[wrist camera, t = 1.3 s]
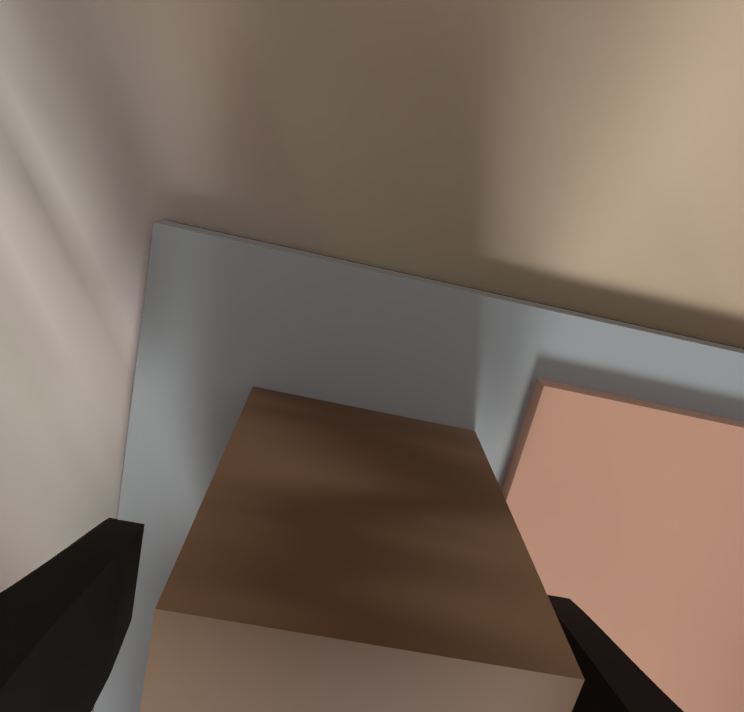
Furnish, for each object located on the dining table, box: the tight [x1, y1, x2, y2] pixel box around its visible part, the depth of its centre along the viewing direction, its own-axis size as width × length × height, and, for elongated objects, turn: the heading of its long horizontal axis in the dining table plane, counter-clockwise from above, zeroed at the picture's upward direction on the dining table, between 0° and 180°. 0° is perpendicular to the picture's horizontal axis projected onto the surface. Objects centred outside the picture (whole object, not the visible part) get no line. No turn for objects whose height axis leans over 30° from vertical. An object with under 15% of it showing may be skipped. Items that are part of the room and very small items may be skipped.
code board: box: [94, 220, 744, 712], centre depth 17 cm, size 17×22×1 cm
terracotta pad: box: [501, 378, 744, 712], centre depth 15 cm, size 8×8×1 cm
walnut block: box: [140, 387, 585, 712], centre depth 11 cm, size 5×5×7 cm
